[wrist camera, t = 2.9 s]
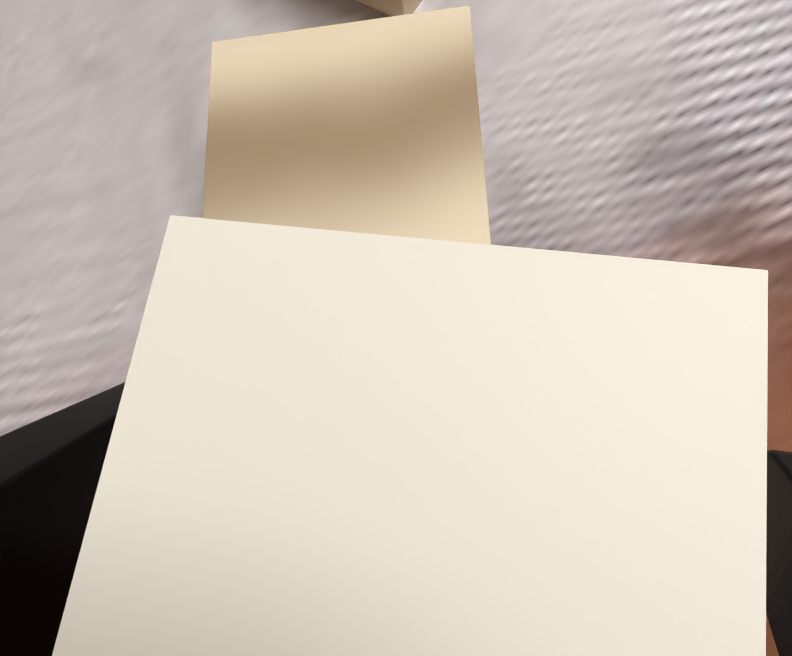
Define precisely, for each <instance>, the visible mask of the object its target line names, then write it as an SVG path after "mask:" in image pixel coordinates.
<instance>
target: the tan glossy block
mask: <svg viewBox="0 0 792 656" xmlns="http://www.w3.org/2000/svg"><path fill="white" fill-rule="evenodd" d="M203 218H206V219H216V220H227V221H238V222H249V223H260V224H271V225H281V226H292V227H303V228H314V229H325V230H336V231H347V232H357V233H368V234H379V235H390V236H401V237H412V238H422V239H433V240H444V241H455V242H466V243H477V244H487V245H491V242H490V231H489V219H488V208H487V197H486V186H485V174H484V163H483V152H482V140H481V129H480V118H479V107H478V95H477V84H476V73H475V62H474V50H473V39H472V28H471V17H470V5H469V6H462V7H455V8H448V9H441V10H434V11H427V12H420V13H413V14H406V15H399V16H392V17H385V18H378V19H371V20H364V21H356V22H349V23H342V24H335V25H328V26H321V27H314V28H307V29H300V30H293V31H286V32H279V33H272V34H265V35H258V36H251V37H244V38H237V39H230V40H223V41H215V42H212V56H211V74H210V92H209V111H208V129H207V147H206V165H205V184H204V202H203Z"/></svg>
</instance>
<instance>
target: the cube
mask: <svg viewBox="0 0 792 656" xmlns="http://www.w3.org/2000/svg"><path fill="white" fill-rule="evenodd" d="M356 1H358V2H360V3H362V4H365V5H367V6H369V7H371V8H373V9H376V10H378V11H380V12H382V13H384V14H387V15H389V16H391V17H392V16H399V15H406V14H412V13H413V12H414V11H415V9H416V8H417V6H418V5H419V4H420V2H421V1H422V0H356Z"/></svg>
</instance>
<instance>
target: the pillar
mask: <svg viewBox="0 0 792 656" xmlns="http://www.w3.org/2000/svg"><path fill="white" fill-rule="evenodd" d="M767 345H768V270H759V269H748V268H737V267H726V266H715V265H704V264H693V263H683V262H672V261H661V260H650V259H639V258H628V257H618V256H607V255H596V254H585V253H574V252H563V251H553V250H542V249H531V248H520V247H509V246H498V245H487V244H477V243H466V242H455V241H444V240H433V239H422V238H412V237H401V236H390V235H379V234H368V233H357V232H347V231H336V230H325V229H314V228H303V227H292V226H281V225H271V224H260V223H249V222H238V221H227V220H216V219H206V218H195V217H184V216H173V215H170V218H169V222H168V226H167V229H166V233H165V237H164V241H163V244H162V248H161V252H160V255H159V259H158V263H157V267H156V270H155V274H154V278H153V282H152V285H151V289H150V293H149V296H148V300H147V304H146V308H145V311H144V315H143V319H142V322H141V326H140V330H139V334H138V337H137V341H136V345H135V349H134V352H133V356H132V360H131V363H130V367H129V371H128V375H127V378H126V382H125V386H124V389H123V393H122V397H121V401H120V404H119V408H118V412H117V415H116V419H115V423H114V427H113V430H112V434H111V438H110V442H109V445H108V449H107V453H106V456H105V460H104V464H103V468H102V471H101V475H100V479H99V482H98V486H97V490H96V494H95V497H94V501H93V505H92V509H91V512H90V516H89V520H88V523H87V527H86V531H85V535H84V538H83V542H82V546H81V549H80V553H79V557H78V561H77V564H76V568H75V572H74V575H73V579H72V583H71V587H70V590H69V594H68V598H67V602H66V605H65V609H64V613H63V616H62V620H61V624H60V628H59V631H58V635H57V639H56V642H55V646H54V650H53V654H52V656H766V523H767Z"/></svg>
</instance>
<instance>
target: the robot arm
mask: <svg viewBox="0 0 792 656" xmlns="http://www.w3.org/2000/svg"><path fill="white" fill-rule="evenodd" d="M124 386H125V382H124V383H122V384H120V385H118V386H115V387H113V388H111V389H108V390H106V391H104V392H101V393H99V394H97V395H94V396H92V397H90V398H88V399H85V400H83V401H81V402H78V403H76V404H74V405H71V406H69V407H67V408H65V409H62V410H60V411H58V412H55V413H53V414H51V415H48V416H46V417H44V418H42V419H39V420H37V421H35V422H32V423H30V424H28V425H25V426H23V427H21V428H18V429H16V430H14V431H12V432H9V433H7V434H5V435H2V436H0V656H52V654H53V650H54V646H55V642H56V639H57V635H58V631H59V628H60V624H61V620H62V616H63V613H64V609H65V605H66V602H67V598H68V594H69V590H70V587H71V583H72V579H73V575H74V572H75V568H76V564H77V561H78V557H79V553H80V549H81V546H82V542H83V538H84V535H85V531H86V527H87V523H88V520H89V516H90V512H91V509H92V505H93V501H94V497H95V494H96V490H97V486H98V482H99V479H100V475H101V471H102V468H103V464H104V460H105V456H106V453H107V449H108V445H109V442H110V438H111V434H112V430H113V427H114V423H115V419H116V415H117V412H118V408H119V404H120V401H121V397H122V393H123V389H124ZM766 613H767V617H768V620H769V624H770V627H771V630H772V634H773V637H774V640H775V643H776V646H777V650H778V653H779V656H792V452H785V451H778V450H769V451H767V523H766Z"/></svg>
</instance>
